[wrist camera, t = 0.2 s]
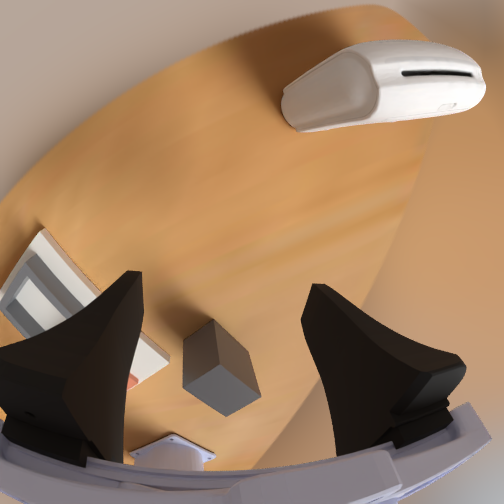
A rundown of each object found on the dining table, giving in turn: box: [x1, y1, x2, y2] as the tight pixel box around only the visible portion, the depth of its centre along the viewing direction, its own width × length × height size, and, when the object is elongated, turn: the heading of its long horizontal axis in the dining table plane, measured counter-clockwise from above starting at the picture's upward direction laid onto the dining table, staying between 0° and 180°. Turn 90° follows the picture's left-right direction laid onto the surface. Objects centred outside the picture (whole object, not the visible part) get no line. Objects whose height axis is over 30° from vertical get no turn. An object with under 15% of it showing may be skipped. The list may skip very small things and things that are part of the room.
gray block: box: [183, 319, 261, 417], centre depth 22 cm, size 4×5×6 cm
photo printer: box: [281, 40, 486, 132], centre depth 14 cm, size 10×4×12 cm, turn 108°
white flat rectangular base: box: [0, 228, 170, 391], centre depth 20 cm, size 10×16×3 cm, turn 36°
